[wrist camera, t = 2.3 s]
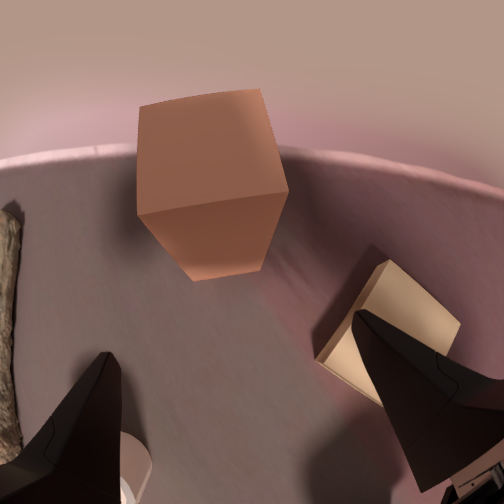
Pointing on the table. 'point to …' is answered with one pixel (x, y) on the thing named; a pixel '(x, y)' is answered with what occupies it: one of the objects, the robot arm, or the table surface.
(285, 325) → the table surface
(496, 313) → the table surface
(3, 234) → the elongated rock
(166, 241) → the terracotta post
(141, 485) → the white cup
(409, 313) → the birch block
